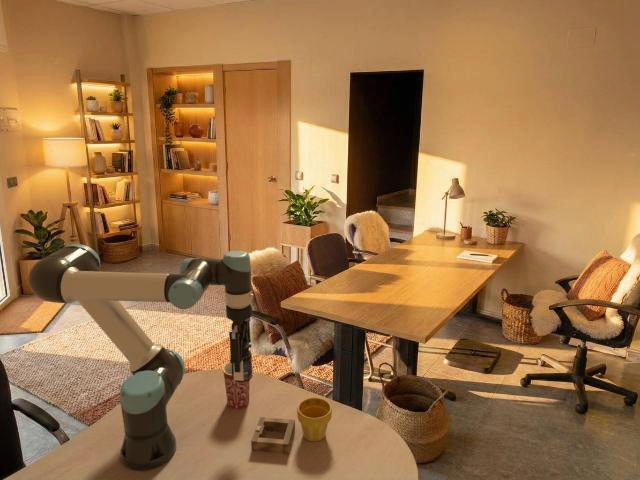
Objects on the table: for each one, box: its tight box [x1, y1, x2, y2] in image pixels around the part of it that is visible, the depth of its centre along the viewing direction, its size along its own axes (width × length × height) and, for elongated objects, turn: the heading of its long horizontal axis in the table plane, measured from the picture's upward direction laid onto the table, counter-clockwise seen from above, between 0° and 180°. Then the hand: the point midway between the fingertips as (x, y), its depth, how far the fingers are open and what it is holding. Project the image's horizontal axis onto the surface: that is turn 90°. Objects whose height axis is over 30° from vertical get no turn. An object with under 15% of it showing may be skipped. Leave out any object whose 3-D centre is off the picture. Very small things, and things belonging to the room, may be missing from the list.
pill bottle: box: [231, 342, 253, 383], centre depth 147 cm, size 6×6×11 cm
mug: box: [222, 361, 251, 410], centre depth 165 cm, size 13×9×14 cm
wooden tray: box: [250, 416, 296, 455], centre depth 147 cm, size 11×11×4 cm
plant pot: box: [297, 396, 333, 442], centre depth 148 cm, size 10×10×10 cm
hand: (242, 373), depth 148 cm, fingers closed on pill bottle, 6 cm apart
